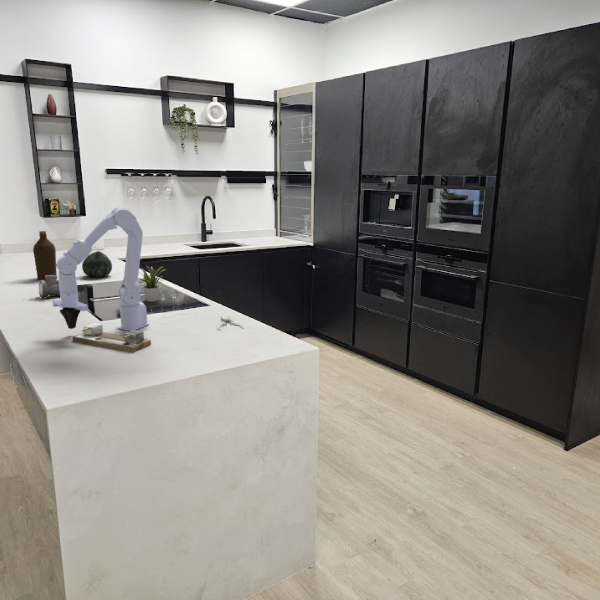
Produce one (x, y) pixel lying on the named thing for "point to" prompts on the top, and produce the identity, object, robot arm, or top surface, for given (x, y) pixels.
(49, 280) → the pipe fitting
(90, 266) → the squash
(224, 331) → the top surface
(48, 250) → the olive oil
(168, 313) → the top surface
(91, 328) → the block
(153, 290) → the house plant
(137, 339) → the gauge board
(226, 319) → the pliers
